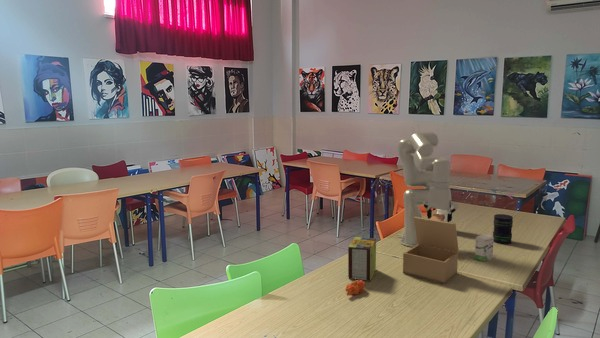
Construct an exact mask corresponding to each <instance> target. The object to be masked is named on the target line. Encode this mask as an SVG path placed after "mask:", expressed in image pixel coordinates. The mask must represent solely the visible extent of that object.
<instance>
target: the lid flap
mask: <svg viewBox="0 0 600 338" xmlns="http://www.w3.org/2000/svg"><path fill="white" fill-rule="evenodd" d="M436 213H437V212H436ZM436 213H435V212H434V213H432V214H433V215H432V217H431V218H430V219H428V218H423V217H422V218H419V217H414V222H415V229H416V235H417V242H418V244H419V245H424V246H428V247H433V248H438V249H443V250H448V251H452V252H457V253H459V252H460V251H459V243H458V232H457V224H456V223H455V222H453V223H449V222H443V220H444V219H445V215H443V214H436Z"/></svg>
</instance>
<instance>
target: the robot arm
mask: <svg viewBox="0 0 600 338" xmlns="http://www.w3.org/2000/svg"><path fill="white" fill-rule="evenodd" d="M438 144H439V137H438V135H437V133H435V132H434V131H431V132H430V131H427V132H425V131H424V132H423V131H420V132H415V133H413V134H411V136H410V137H409V138H403V139H401V140H400V141H398V145H397V150H398V155H399V158H400V161H401V163H402V171H403V179H404V181H403V182H404V184H405V186H406V187H410V189H407V190H405V191H404V193H403V197H402V198H403V204H404V222H403V223H404V225H403V226H404V228H403V230H404V231H403V234H402V233H398V234H397V237H398V239H401V241H400V243H401V245H402V246H405V247H410V248H413V247H414V246H416V245H418V242H417V235H416V229H415V222H414V217H419V218H423V213H422V211H421V209H419V207H424V209H426V210H425V211H426V217H427V219H431V217H432V216H433V215H432V214H433V210H432V209H435V210H437V209H441V210H447V212H448V215H447V222H450V221H451V220H452V213H455V212H457V210H458V208H459V205H458V204H457V203H455V202H454V201H452V192H451V188H450V171H451V161H450V160H449V159H447V158H446V157H444V156H440V155H439V156H437V155H436V156H433V155H432V154H433V152H434V150H435V149H436V147H438ZM431 155H432V156H431ZM417 187H418V188H417ZM421 187H422V188H421ZM451 205H453V209H451Z"/></svg>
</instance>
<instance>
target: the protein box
mask: <svg viewBox="0 0 600 338" xmlns="http://www.w3.org/2000/svg"><path fill="white" fill-rule="evenodd" d="M347 248H348V249H347V250H348V253H347V254H348V255H347V256H348V260H347V261H348V263H347V264H348V265H347V266H348V269H347V271H348V274H347V275H348V276H347V277H349V278H356V279H363V280H362V281H364V280H369V281H368V282H371V280H372V278H373V276H374V274H375V272H376V270H375V269H376V268H377V266H376V265H377V263H376V262H377V239H376V238H370V237H369V238H368V237H359V236H354V238H353V240H352V241H351V242H350V243H349V246H348V247H347ZM374 271H375V272H374ZM373 273H374V274H373ZM356 279H355V280H356Z"/></svg>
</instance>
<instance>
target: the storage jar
mask: <svg viewBox="0 0 600 338" xmlns="http://www.w3.org/2000/svg"><path fill="white" fill-rule="evenodd" d="M513 220H514V217H513V216H512V215H509V214H503V213H502V214H501V213H500V214H499V213H498V214H497V213H496V214H494V215H493V232H492V236H493V237H494V239H493V243H495V244H498V245H511V244H512V238H513V232H512V229H513Z"/></svg>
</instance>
